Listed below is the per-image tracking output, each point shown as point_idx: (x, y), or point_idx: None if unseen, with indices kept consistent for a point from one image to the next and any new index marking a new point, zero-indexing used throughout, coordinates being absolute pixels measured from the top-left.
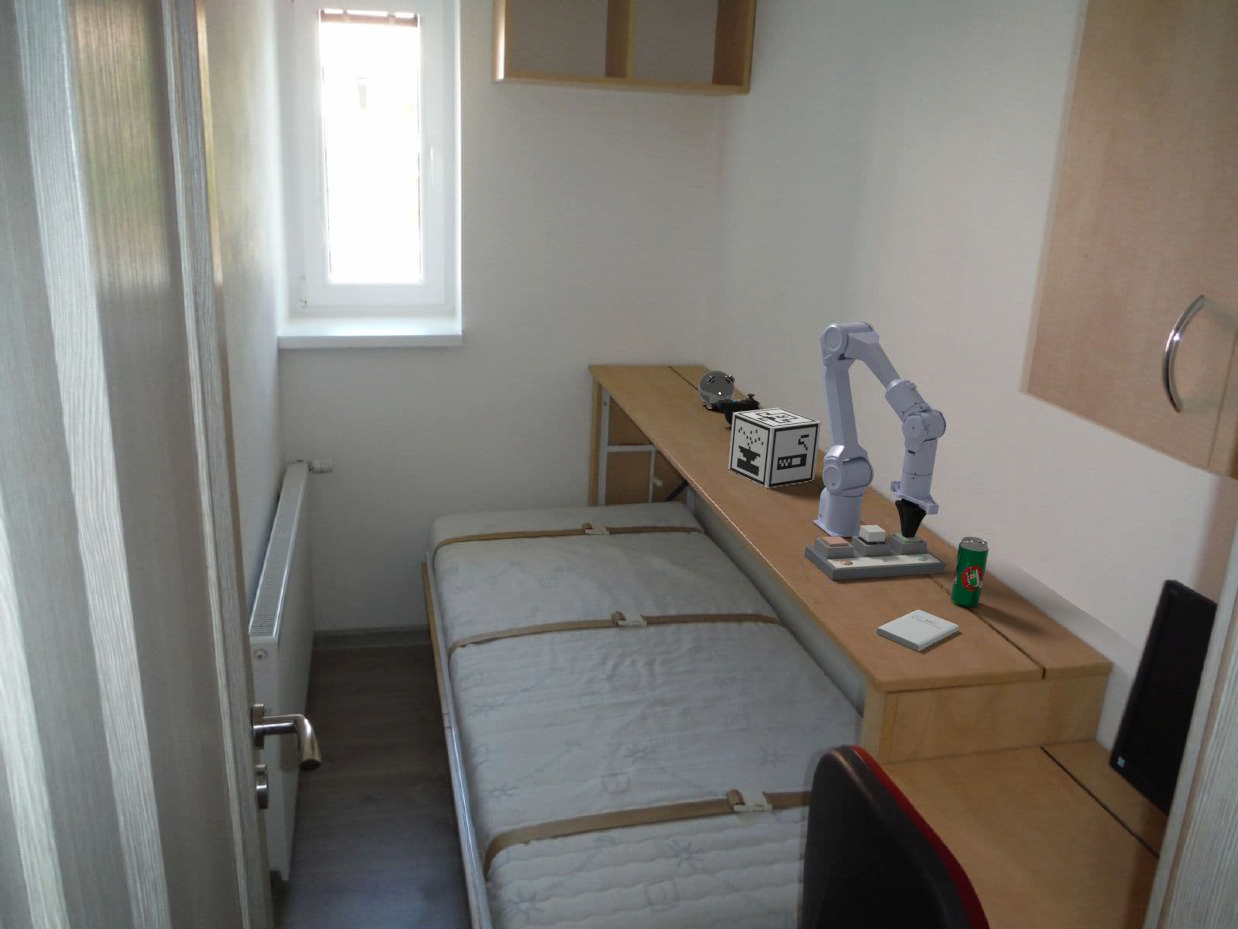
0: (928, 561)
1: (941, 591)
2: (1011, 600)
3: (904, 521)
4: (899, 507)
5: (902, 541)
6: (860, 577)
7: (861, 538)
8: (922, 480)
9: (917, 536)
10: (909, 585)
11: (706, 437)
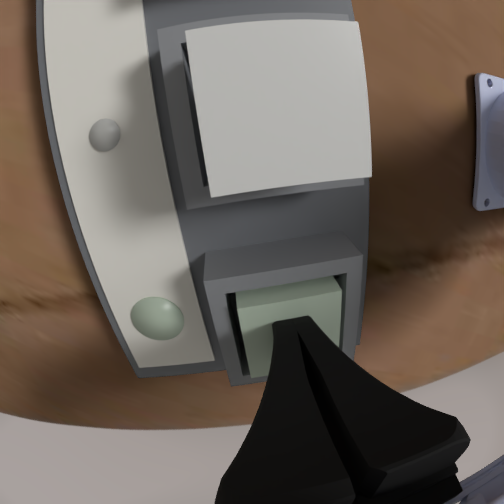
0: (129, 334)
1: (6, 289)
2: (31, 403)
3: (295, 385)
4: (379, 440)
5: (255, 296)
6: None
7: None
8: None
9: None
10: (15, 204)
11: None
